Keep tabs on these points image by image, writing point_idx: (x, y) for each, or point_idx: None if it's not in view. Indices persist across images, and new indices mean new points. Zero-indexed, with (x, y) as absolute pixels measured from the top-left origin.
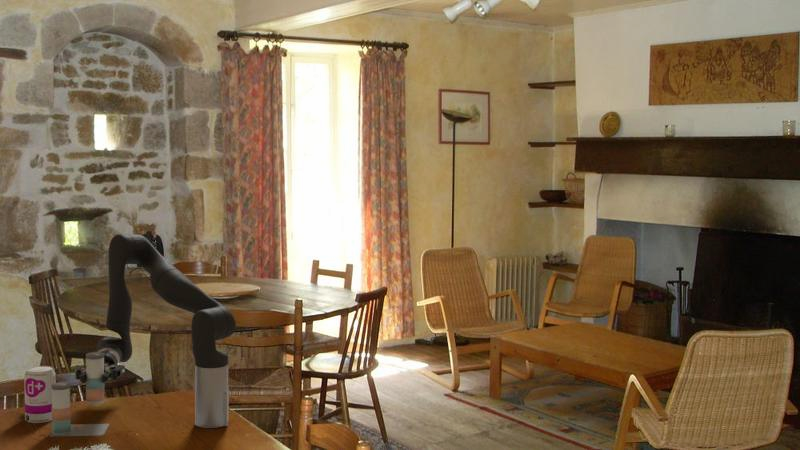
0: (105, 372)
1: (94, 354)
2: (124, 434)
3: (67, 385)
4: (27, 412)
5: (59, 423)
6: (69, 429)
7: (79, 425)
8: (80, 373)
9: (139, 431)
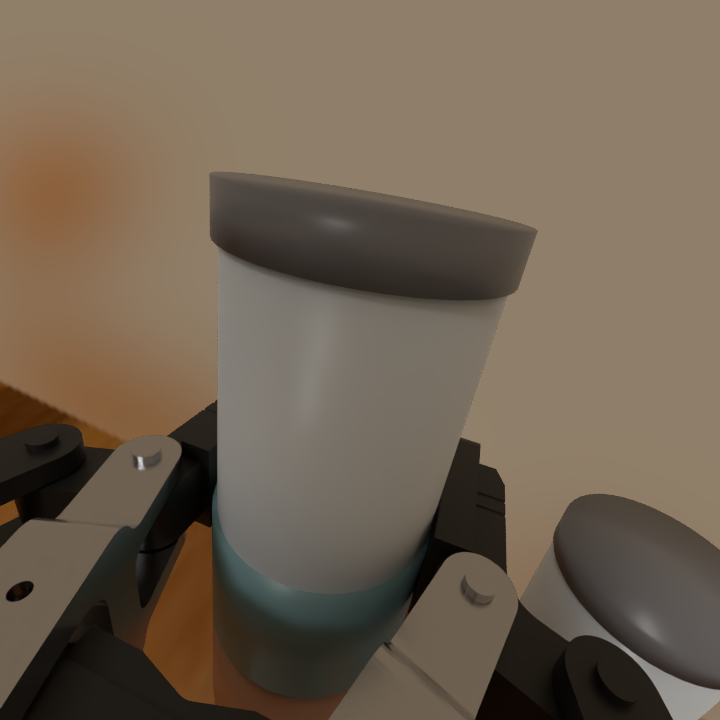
0: (216, 429)
1: (387, 200)
2: (175, 600)
3: (576, 509)
4: None
5: None
6: None
7: None
8: (532, 622)
9: None
